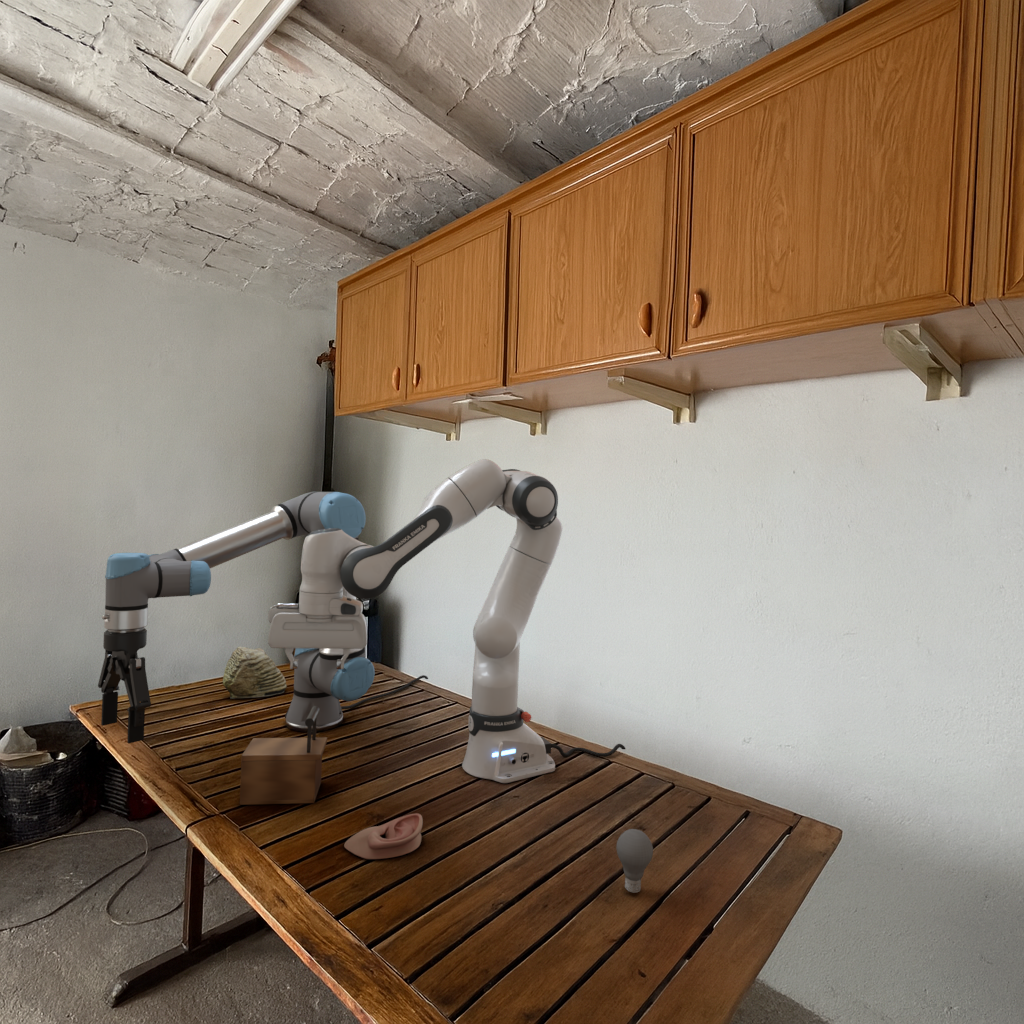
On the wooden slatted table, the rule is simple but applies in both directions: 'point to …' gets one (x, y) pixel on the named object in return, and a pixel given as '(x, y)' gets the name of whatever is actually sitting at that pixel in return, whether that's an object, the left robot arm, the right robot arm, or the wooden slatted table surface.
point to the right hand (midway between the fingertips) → (317, 668)
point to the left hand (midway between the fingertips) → (121, 732)
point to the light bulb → (634, 857)
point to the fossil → (252, 674)
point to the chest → (280, 781)
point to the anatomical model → (387, 838)
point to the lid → (288, 745)
